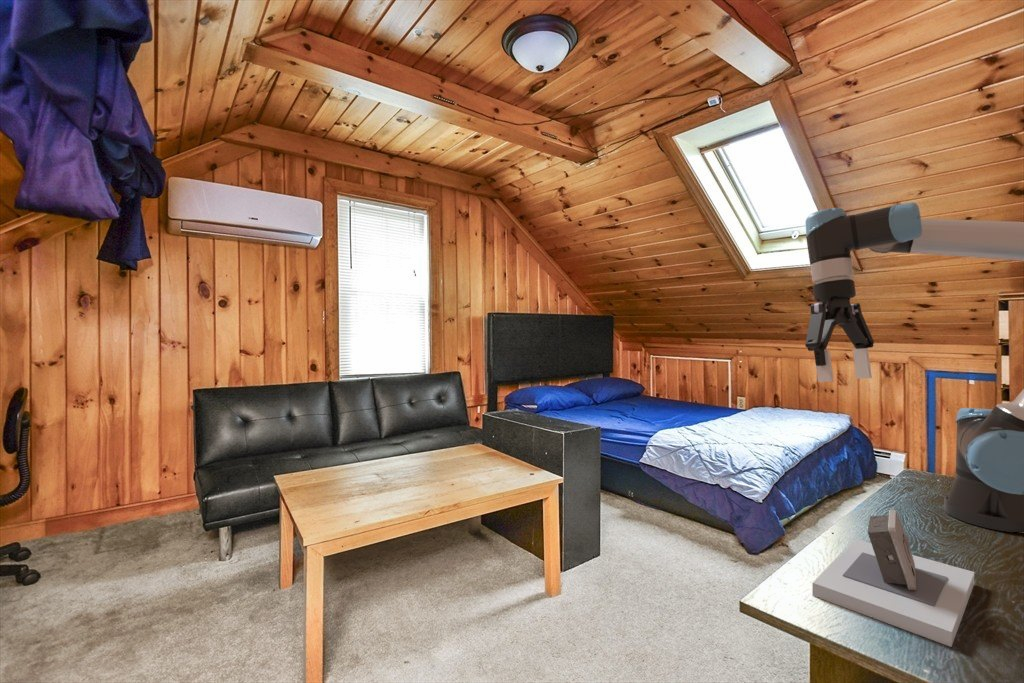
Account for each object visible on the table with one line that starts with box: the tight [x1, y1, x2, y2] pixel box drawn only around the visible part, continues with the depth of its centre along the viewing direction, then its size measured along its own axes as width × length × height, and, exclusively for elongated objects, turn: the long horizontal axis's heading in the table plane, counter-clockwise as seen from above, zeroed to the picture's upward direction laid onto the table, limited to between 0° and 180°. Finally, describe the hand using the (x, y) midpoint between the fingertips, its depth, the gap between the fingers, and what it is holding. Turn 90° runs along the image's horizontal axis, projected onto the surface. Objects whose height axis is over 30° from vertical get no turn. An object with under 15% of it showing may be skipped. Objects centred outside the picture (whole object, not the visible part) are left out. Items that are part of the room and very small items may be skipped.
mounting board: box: [811, 538, 975, 648], centre depth 76 cm, size 22×16×2 cm
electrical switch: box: [867, 509, 916, 590], centre depth 76 cm, size 9×5×9 cm, turn 141°
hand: (845, 380), depth 103 cm, fingers open, 13 cm apart
